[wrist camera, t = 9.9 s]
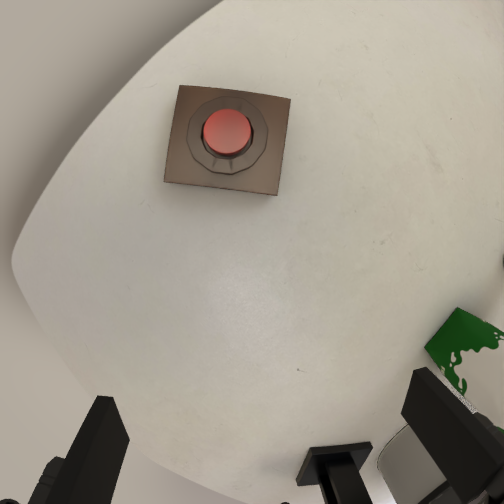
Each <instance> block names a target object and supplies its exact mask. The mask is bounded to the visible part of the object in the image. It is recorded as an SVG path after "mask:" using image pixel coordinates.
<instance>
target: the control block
mask: <svg viewBox="0 0 504 504" xmlns="http://www.w3.org/2000/svg"><path fill="white" fill-rule="evenodd" d="M290 101H291V99H288V98H283V97H277V96H271V95H265V94H259V93H252V92H245V91H238V90H230V89H221V88H211V87H200V86H185V85H180V86H179V90H178V95H177V101H176V106H175V111H174V117H173V122H172V128H171V134H170V140H169V147H168V153H167V160H166V168H165V175H164V182H169V183H179V184H188V185H197V186H206V187H215V188H223V189H231V190H239V191H246V192H253V193H260V194H267V195H274V196H277V194H278V188H279V181H280V174H281V167H282V160H283V153H284V145H285V138H286V131H287V124H288V116H289V109H290ZM222 109H233V110H237V111H239V112H240V113H242V114H243V115H244V116H245V117H246V118H247V119H248V121H249V124H250V127H251V134H250V138H249V141H248V143H247V145H246V146H245V148H244V149H243V150H242V151H240V152H239V153H237V154H234V155H230V156H223V155H219V154H217V153H215V152H214V151H212V150H211V149H210V148H209V146H208V145H207V143H206V141H205V138H204V133H203V130H204V125H205V122H206V121H207V119H208V118H209V117H210V116H211V115H212V114H213V113H215V112H216V111H218V110H222Z"/></svg>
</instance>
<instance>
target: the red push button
mask: <svg viewBox="0 0 504 504" xmlns="http://www.w3.org/2000/svg"><path fill="white" fill-rule="evenodd" d="M203 133H204V138H205V141H206V143H207V145H208V146H209V148H210V149H211V150H212V151H214V152H215V153H217V154H219V155H223V156H230V155H234V154H237V153H239V152H240V151H242V150H243V149H244V148H245V146H246V145H247V143H248V141H249V138H250V134H251V127H250V124H249V121H248V119H247V118H246V117H245V116H244V115H243V114H242V113H240V112H239V111H237V110H233V109H222V110H218V111H216V112H215V113H213V114H212V115H211V116H210V117H209V118H208V119H207V121H206V122H205V125H204V130H203Z"/></svg>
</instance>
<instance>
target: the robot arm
mask: <svg viewBox="0 0 504 504" xmlns="http://www.w3.org/2000/svg"><path fill="white" fill-rule="evenodd" d="M401 415H402V416H403V417H404V419H405V420H406V422H407V423H408V424H409V426H410V427H411V429H412V430H413V432H414V433H415V434H416V436H417V437H418V439H419V440H420V442H421V443H422V444H423V446H424V447H425V449H426V450H427V452H428V453H429V455H430V456H431V457H432V459H433V460H434V462H435V463H436V465H437V466H438V468H439V469H440V471H441V472H442V473H443V475H444V476H445V478H446V479H447V481H448V482H449V484H450V485H451V487H452V488H453V490H454V491H455V493H456V494H457V496H458V497H459V499H460V500H461V502H462V503H463V504H468V503H470V502H471V501H473V500H474V499H476V498H477V497H478V496H479V495H480V494H481V493H482V492H483V491H484V490H486V491H487V494H486V495H485V496H484V497H483V498H482V499H481V500H480V502H479V503H478V504H482V503H483V502H484V504H504V434H503V433H502V432H501V431H499V429H498V428H497V427H496V426H495V425H493V423H492V422H491V421H490V420H489V419H488V418H487V417H486V416H484V415H482V414H480V413H478V412H476V413H474V414H472V413H471V412H470V411H469V410H468V409H467V408H466V406H465V405H464V404H463V403H462V402H461V401H460V400H459V399H458V398H457V397H456V396H455V395H454V394H453V393H452V392H451V391H450V390H449V389H448V388H447V387H446V386H445V385H444V384H443V383H442V382H441V381H440V380H439V379H438V378H437V377H436V376H435V375H434V374H433V373H432V372H431V371H430V370H429V369H428V368H427V367H423V368H420V369H416V370H413V374H412V378H411V381H410V385H409V389H408V392H407V395H406V399H405V402H404V405H403V408H402V411H401ZM129 441H130V439H129V436H128V434H127V432H126V429H125V427H124V424H123V422H122V419H121V417H120V414H119V412H118V409H117V406H116V404H115V401H114V398H113V397H108V396H98V395H97V397H96V399H95V401H94V403H93V405H92V407H91V409H90V410H89V412H88V414H87V416H86V418H85V420H84V422H83V424H82V426H81V428H80V430H79V432H78V434H77V435H76V438H75V440H74V441H73V444H72V445H71V447H70V450H69V452H68V454H67V456H66V458H65V459H64V458H60V457H57V456H56V457H54V458H53V459H52V460H51V461H50V462H49V463H48V464H47V465H46V467H45V469H44V471H43V475H41V477H40V479H39V483H38V484H37V486H36V487H35V489H34V491H33V494H32V496H31V498H30V500H29V502H28V504H111V500H112V497H113V493H114V490H115V486H116V483H117V479H118V476H119V473H120V469H121V466H122V463H123V460H124V456H125V453H126V450H127V447H128V444H129ZM0 504H19V503H18V502H17V501H15V500H12V499H4V500H1V501H0Z"/></svg>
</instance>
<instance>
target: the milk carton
mask: <svg viewBox="0 0 504 504" xmlns="http://www.w3.org/2000/svg"><path fill="white" fill-rule="evenodd" d="M424 348H425V349H426V350H427V352H428V353H429V355H430V356H431V357H432V359H433V360H434V362H435V363H436V364H437V366H438V367H439V369H440V370H441V372H442V373H443V374H444V376H445V377H446V378H447V379H448V380H449V382H450V383H451V384H452V385H453V387H454V388H455V389H456V390H457V391H458V392H459V393H460V394H461V395H462V396H463V397H464V398H465V399H466V400H467V401H468V402H469V403H470V404H471V405H472V406H473V407H474V408H475V409H476V410H477V411H478V412H479V413H480V414H482V415H484V416H486V417H487V418H488V419H489V420H490V421H491V422H492V423H493V425H495V426H496V427H497V428H498V429H499V431H501V432H502V433H503V434H504V332H502V331H501V330H499V329H497V328H496V327H494V326H493V325H491V324H489V323H488V322H486V321H484V320H482V319H480V318H478V317H476V316H474V315H472V314H470V313H468V312H466V311H464V310H462V309H460V308H458V307H457V308H456V310H455V311H454V312H453V314H452V315H451V316H450V317H449V319H448V320H447V321H446V322H445V324H444V325H443V326H442V327H441V329H440V330H439V331H438V332H437V333H436V335H435V336H434V337H433V338H432V339H431V340H430V342H429V343H428V344H427V345H426V346H425V347H424Z"/></svg>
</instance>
